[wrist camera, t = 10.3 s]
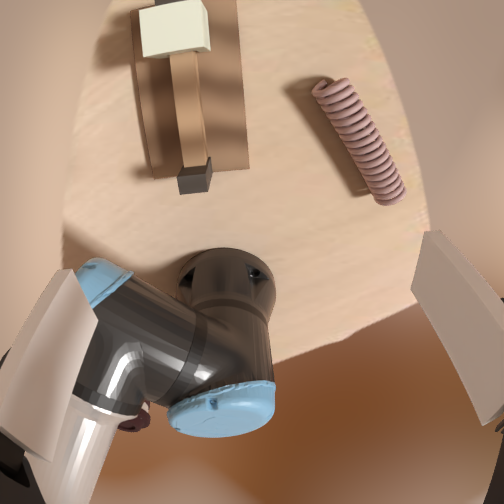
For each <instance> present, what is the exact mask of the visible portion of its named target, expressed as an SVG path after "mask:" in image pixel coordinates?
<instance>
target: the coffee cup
mask: <svg viewBox="0 0 504 504" xmlns="http://www.w3.org/2000/svg"><path fill="white" fill-rule="evenodd" d="M149 408H150V401H147V400H145V401H144V403H143V405H142V408H141V410H140V412H139V414H138V416H137V417H136V418H134V419H130V420H126V421H123V422H121V423H119V425H118V427H117V429H120V430H123V431H127V432H138V431H140V429H141V428H146V427H148V426H149V424H150V415H149V414H148V410H149Z"/></svg>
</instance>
